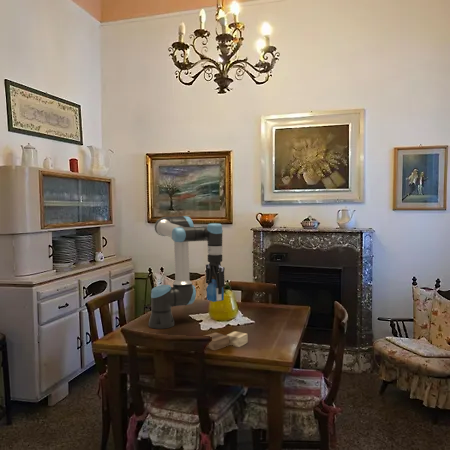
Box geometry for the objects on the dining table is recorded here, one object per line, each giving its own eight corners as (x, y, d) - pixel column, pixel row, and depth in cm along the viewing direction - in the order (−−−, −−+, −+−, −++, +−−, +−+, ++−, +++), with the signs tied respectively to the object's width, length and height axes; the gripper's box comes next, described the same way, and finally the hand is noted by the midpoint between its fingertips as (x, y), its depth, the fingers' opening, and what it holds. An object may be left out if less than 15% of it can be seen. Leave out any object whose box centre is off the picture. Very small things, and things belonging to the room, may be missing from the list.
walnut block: (201, 345, 221) (201, 336, 221) (215, 341, 228) (215, 332, 228) (214, 350, 214) (214, 341, 214) (228, 346, 221) (228, 336, 221)
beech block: (226, 344, 223) (226, 335, 223) (234, 340, 230) (234, 331, 229) (239, 347, 219) (239, 337, 218) (247, 343, 225) (247, 333, 225)
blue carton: (213, 301, 215) (213, 278, 214) (206, 299, 220) (206, 276, 219) (223, 300, 219) (223, 276, 218) (216, 297, 224) (216, 275, 223)
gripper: (198, 252, 224) (198, 296, 225) (219, 256, 208) (219, 303, 210) (210, 251, 228) (210, 294, 229) (232, 255, 212) (232, 301, 214)
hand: (215, 298), depth 220 cm, fingers closed on blue carton, 6 cm apart
